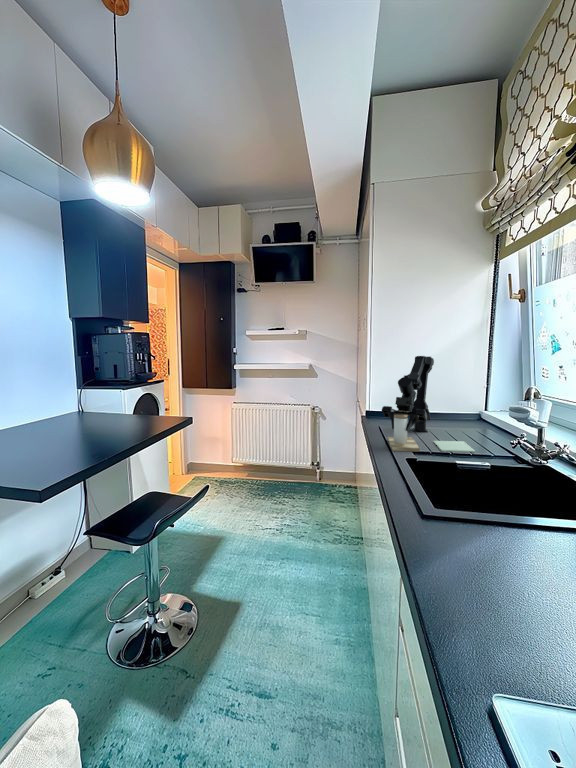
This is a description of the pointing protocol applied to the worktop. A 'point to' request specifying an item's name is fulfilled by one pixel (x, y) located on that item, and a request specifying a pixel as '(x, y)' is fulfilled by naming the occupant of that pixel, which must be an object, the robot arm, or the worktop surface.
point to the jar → (400, 428)
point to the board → (404, 445)
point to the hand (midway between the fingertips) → (399, 429)
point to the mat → (453, 446)
